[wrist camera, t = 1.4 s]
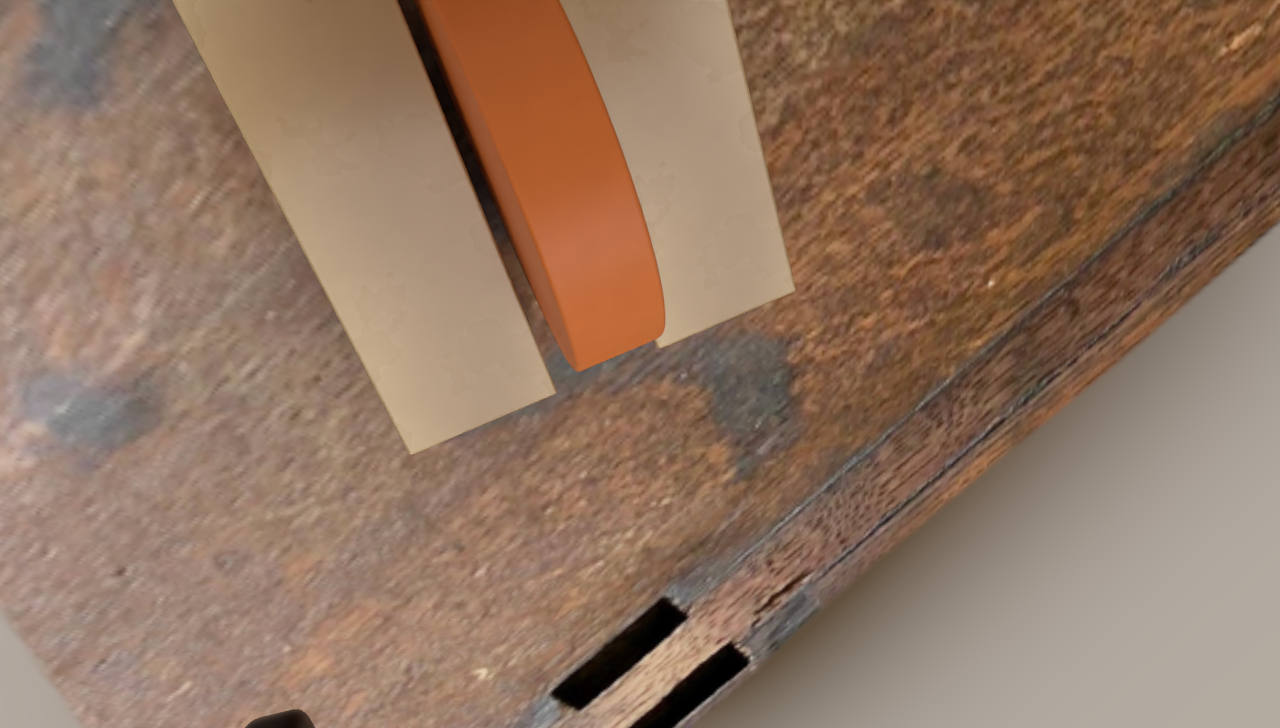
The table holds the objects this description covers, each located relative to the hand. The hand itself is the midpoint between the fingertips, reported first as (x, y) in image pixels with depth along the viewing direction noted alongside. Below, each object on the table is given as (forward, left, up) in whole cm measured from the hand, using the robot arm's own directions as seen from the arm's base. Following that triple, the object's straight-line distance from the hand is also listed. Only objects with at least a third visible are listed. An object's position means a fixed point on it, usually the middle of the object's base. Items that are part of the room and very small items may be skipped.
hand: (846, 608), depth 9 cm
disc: (0, +1, -14) cm, 14 cm away
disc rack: (0, +1, -14) cm, 14 cm away
